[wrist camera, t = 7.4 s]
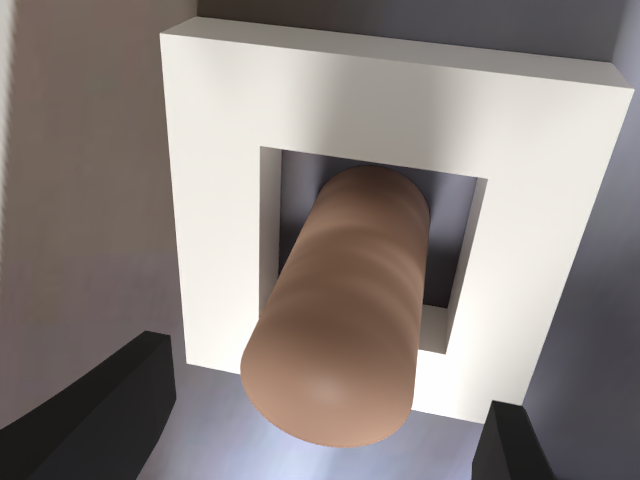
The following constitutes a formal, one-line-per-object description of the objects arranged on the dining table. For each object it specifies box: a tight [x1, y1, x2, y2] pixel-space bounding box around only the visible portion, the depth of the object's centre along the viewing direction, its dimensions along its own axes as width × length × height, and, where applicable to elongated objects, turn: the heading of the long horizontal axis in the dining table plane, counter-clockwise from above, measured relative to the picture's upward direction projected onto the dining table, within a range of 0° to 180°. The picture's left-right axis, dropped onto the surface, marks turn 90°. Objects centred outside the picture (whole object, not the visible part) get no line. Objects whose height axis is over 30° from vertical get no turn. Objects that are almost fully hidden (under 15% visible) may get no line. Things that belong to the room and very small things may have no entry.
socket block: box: [160, 16, 635, 424], centre depth 19 cm, size 12×12×2 cm
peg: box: [240, 165, 430, 448], centre depth 16 cm, size 4×4×8 cm
